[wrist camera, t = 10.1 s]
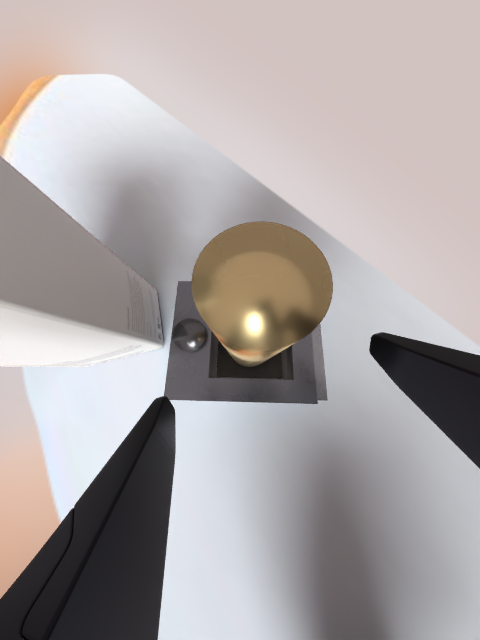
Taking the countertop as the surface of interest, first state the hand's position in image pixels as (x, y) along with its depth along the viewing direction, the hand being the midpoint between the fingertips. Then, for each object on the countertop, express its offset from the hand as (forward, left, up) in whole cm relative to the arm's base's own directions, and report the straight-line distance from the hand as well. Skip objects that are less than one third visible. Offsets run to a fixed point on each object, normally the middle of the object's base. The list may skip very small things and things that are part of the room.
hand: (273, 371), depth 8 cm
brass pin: (+3, -1, -10) cm, 10 cm away
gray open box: (+3, -1, -10) cm, 10 cm away
